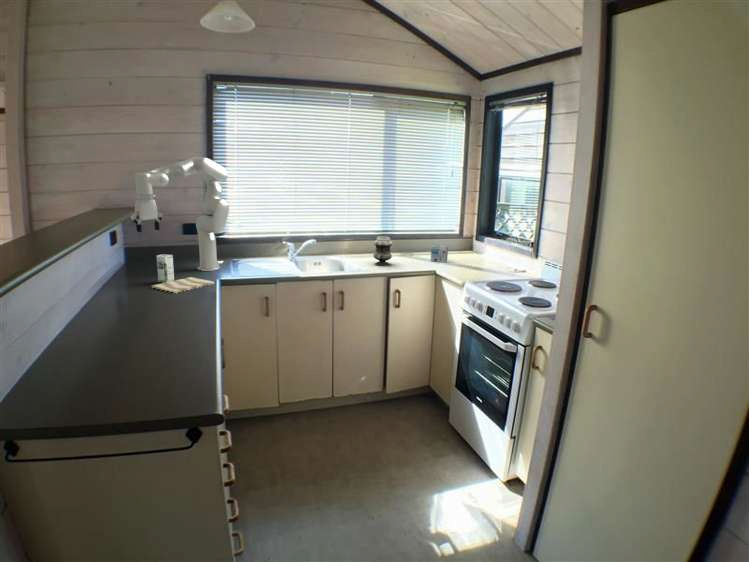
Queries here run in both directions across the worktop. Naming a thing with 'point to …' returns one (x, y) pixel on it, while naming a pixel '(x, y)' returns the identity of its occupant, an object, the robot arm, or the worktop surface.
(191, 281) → the chopping board
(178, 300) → the worktop surface
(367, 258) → the worktop surface
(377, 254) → the apothecary jar
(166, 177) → the robot arm
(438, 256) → the light bulb box
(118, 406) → the worktop surface
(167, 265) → the syrup box
